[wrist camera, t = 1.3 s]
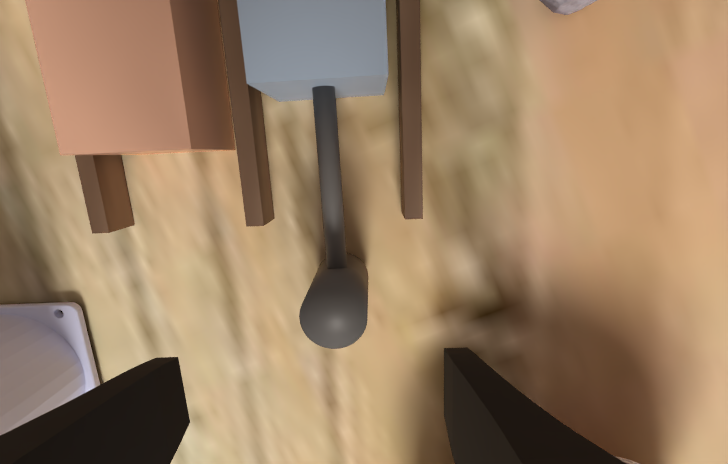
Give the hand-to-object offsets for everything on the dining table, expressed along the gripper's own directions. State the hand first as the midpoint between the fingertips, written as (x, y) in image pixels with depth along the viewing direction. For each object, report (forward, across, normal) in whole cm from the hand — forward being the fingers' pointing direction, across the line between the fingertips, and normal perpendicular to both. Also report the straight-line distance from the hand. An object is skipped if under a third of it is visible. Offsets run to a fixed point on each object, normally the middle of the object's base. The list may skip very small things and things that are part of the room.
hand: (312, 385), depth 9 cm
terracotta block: (+10, +7, -10) cm, 16 cm away
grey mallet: (+9, 0, -7) cm, 12 cm away
